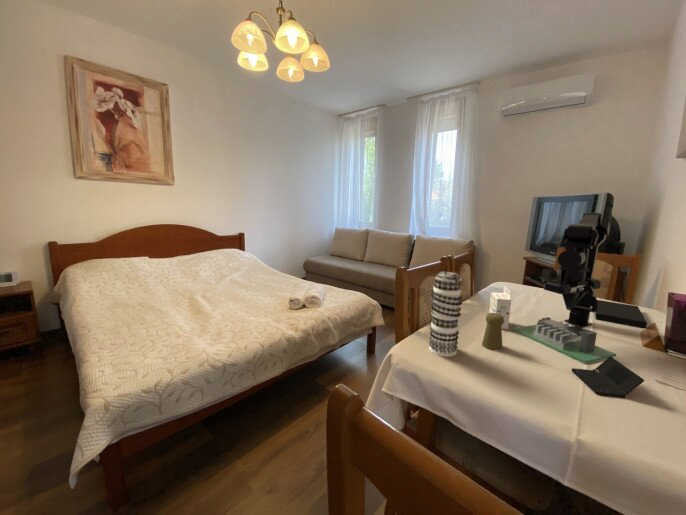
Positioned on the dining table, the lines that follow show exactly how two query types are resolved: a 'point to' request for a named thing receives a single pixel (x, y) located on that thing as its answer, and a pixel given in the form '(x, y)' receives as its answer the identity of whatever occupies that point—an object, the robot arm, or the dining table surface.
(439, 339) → the decorative candle
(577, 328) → the retention strap
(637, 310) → the external hard drive
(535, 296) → the dining table surface
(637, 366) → the dining table surface
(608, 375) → the handheld gaming console
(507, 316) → the ink cartridge box
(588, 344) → the heat sink
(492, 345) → the cork
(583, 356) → the circuit board
